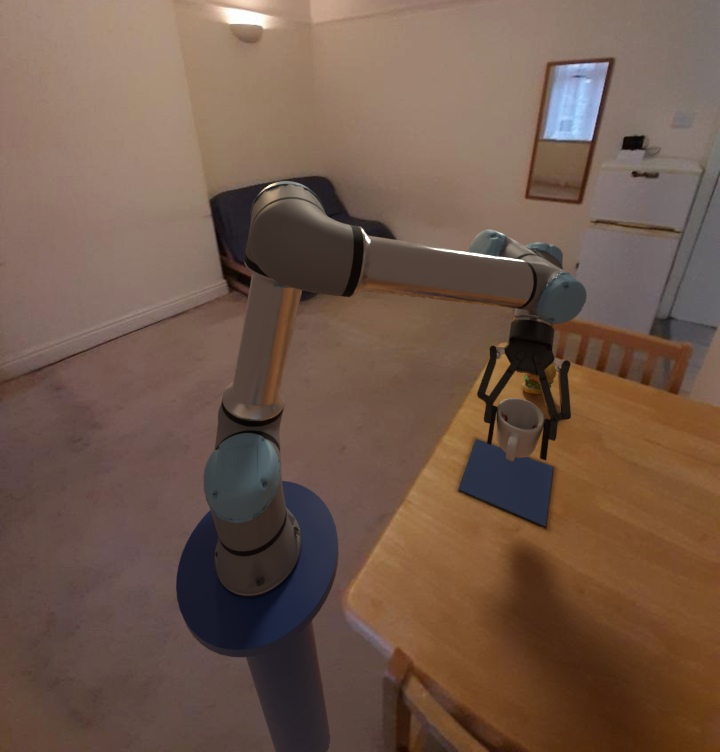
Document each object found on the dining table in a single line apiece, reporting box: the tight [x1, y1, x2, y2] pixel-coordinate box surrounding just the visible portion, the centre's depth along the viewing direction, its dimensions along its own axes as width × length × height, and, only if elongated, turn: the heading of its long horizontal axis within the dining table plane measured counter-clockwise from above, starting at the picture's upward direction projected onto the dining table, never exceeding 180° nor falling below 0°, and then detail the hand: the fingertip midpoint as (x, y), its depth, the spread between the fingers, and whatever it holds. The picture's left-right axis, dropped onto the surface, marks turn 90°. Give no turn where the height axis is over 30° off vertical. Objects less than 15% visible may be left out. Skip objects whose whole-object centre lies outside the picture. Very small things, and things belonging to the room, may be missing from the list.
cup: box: [496, 397, 546, 461], centre depth 72 cm, size 11×8×8 cm
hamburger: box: [521, 363, 557, 395], centre depth 101 cm, size 8×7×12 cm
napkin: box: [457, 438, 554, 528], centre depth 82 cm, size 16×14×1 cm
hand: (515, 451), depth 69 cm, fingers closed on cup, 8 cm apart
